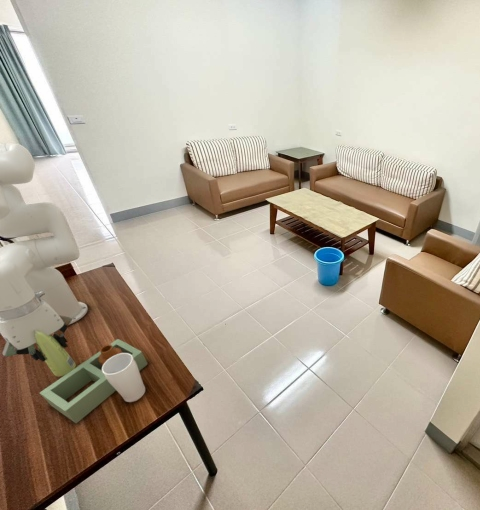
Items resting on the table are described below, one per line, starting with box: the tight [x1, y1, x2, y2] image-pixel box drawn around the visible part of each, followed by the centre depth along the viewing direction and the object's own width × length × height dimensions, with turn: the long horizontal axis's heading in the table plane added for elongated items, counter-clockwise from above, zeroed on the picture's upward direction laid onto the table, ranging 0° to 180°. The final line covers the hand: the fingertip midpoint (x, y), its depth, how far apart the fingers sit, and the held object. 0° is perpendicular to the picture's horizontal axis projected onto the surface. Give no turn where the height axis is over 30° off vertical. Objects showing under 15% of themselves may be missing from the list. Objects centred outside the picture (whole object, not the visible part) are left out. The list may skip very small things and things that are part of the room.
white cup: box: [102, 353, 146, 403], centre depth 75 cm, size 7×7×15 cm
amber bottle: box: [98, 344, 122, 366], centre depth 81 cm, size 5×5×11 cm
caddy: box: [39, 338, 148, 424], centre depth 79 cm, size 11×20×6 cm, turn 157°
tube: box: [35, 330, 77, 377], centre depth 76 cm, size 6×5×20 cm
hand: (52, 351), depth 77 cm, fingers closed on tube, 4 cm apart
